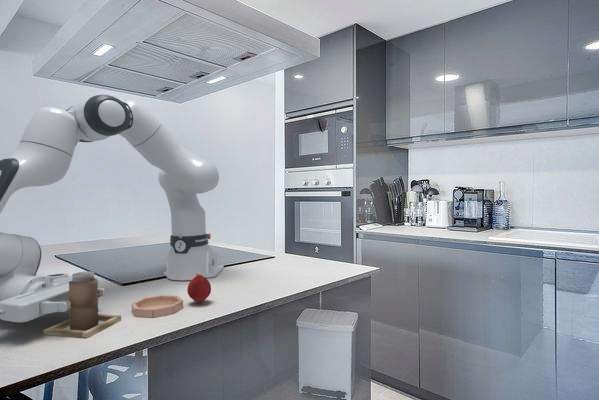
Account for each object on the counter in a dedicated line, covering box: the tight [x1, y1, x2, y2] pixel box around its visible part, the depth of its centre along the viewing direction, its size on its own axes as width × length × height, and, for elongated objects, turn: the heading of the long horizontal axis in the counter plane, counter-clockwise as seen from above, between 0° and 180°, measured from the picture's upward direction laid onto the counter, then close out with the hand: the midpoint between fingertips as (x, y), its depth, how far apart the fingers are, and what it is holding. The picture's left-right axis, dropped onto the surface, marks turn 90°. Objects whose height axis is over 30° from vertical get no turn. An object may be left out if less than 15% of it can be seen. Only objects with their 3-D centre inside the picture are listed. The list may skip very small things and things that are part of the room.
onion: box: [187, 272, 212, 304], centre depth 92 cm, size 6×6×8 cm
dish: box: [131, 294, 184, 318], centre depth 87 cm, size 11×11×2 cm
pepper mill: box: [69, 271, 99, 331], centre depth 76 cm, size 5×5×12 cm
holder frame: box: [43, 313, 122, 339], centre depth 76 cm, size 10×10×1 cm
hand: (86, 299), depth 76 cm, fingers open, 8 cm apart
